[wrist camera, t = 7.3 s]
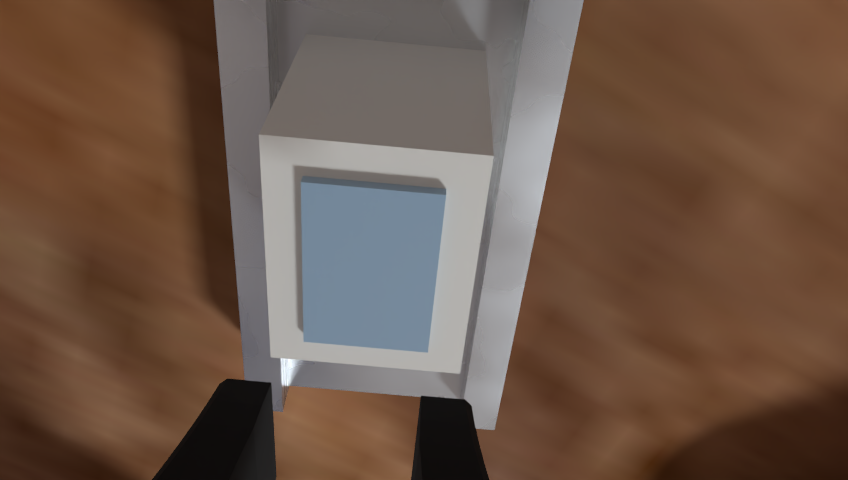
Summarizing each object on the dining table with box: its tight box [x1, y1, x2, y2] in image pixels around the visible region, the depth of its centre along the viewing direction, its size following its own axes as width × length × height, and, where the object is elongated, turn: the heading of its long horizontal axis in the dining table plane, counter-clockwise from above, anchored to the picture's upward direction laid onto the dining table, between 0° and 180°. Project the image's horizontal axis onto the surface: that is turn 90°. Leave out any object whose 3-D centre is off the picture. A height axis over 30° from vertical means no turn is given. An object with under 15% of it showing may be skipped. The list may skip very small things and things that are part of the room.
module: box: [259, 34, 494, 374], centre depth 15 cm, size 4×5×5 cm
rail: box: [214, 0, 583, 430], centre depth 15 cm, size 7×20×5 cm, turn 175°
